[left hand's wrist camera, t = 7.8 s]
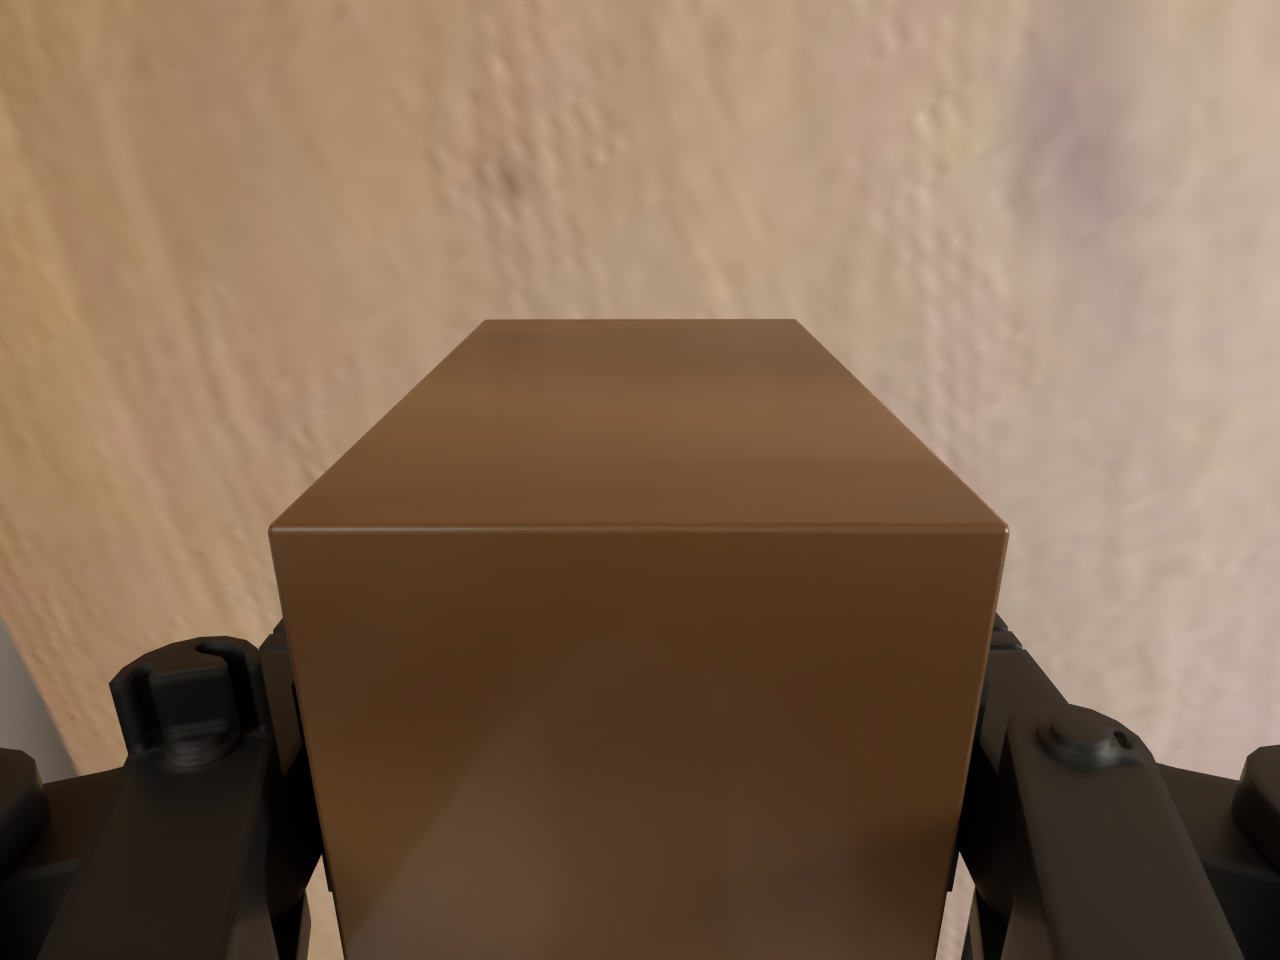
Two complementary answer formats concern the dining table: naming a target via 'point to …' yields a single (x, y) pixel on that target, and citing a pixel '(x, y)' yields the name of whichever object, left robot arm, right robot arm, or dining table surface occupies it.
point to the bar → (639, 653)
